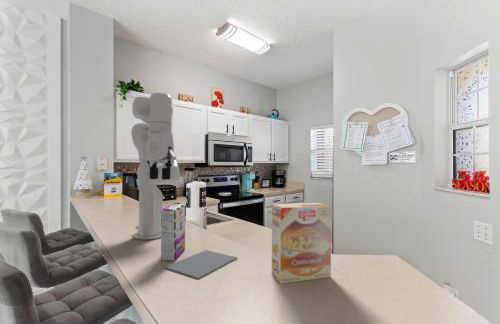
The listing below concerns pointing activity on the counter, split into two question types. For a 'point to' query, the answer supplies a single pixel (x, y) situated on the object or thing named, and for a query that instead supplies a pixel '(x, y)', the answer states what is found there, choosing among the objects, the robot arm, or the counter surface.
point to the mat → (201, 264)
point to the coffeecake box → (301, 241)
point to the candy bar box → (172, 232)
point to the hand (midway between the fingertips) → (159, 178)
